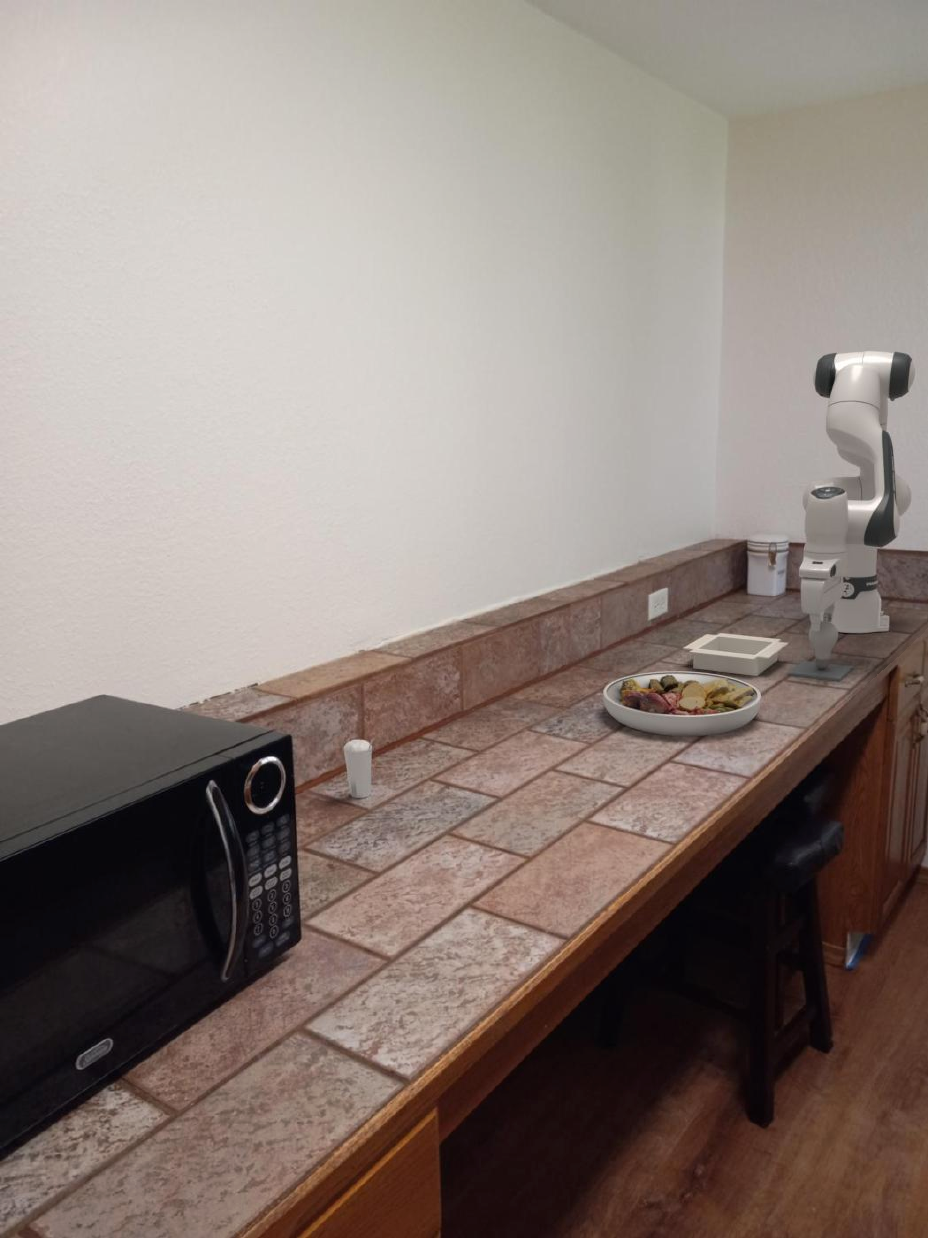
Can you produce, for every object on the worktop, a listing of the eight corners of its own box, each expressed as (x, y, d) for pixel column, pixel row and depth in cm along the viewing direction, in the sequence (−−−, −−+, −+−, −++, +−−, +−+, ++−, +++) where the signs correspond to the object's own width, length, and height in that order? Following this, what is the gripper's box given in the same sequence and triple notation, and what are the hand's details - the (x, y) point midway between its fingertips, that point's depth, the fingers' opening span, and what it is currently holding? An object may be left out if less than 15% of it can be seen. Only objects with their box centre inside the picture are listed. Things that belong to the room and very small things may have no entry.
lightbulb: (832, 665, 221) (834, 617, 219) (839, 673, 215) (842, 624, 213) (804, 666, 222) (806, 618, 219) (810, 673, 216) (812, 624, 214)
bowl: (643, 686, 214) (643, 651, 213) (781, 706, 197) (783, 668, 196) (575, 726, 191) (575, 686, 189) (726, 753, 174) (727, 710, 172)
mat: (802, 663, 226) (802, 660, 226) (852, 669, 220) (852, 666, 220) (787, 675, 218) (788, 672, 217) (839, 681, 211) (840, 678, 211)
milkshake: (367, 803, 157) (363, 743, 155) (340, 797, 160) (336, 738, 158) (384, 793, 161) (380, 734, 159) (358, 787, 164) (354, 729, 161)
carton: (709, 650, 241) (710, 632, 240) (791, 659, 230) (791, 640, 229) (678, 669, 225) (678, 650, 224) (764, 680, 214) (764, 660, 213)
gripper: (822, 555, 224) (820, 615, 227) (796, 570, 207) (793, 634, 211) (852, 557, 220) (849, 617, 223) (827, 572, 204) (824, 637, 207)
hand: (822, 626), depth 217 cm, fingers open, 8 cm apart
